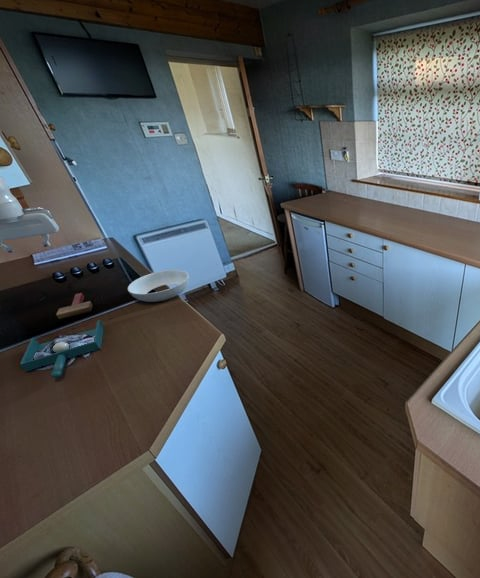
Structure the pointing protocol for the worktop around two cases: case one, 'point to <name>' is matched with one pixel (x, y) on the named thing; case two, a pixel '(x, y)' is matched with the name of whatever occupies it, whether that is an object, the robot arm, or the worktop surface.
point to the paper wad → (60, 347)
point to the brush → (75, 307)
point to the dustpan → (61, 356)
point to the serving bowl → (157, 279)
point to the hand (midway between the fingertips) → (29, 248)
